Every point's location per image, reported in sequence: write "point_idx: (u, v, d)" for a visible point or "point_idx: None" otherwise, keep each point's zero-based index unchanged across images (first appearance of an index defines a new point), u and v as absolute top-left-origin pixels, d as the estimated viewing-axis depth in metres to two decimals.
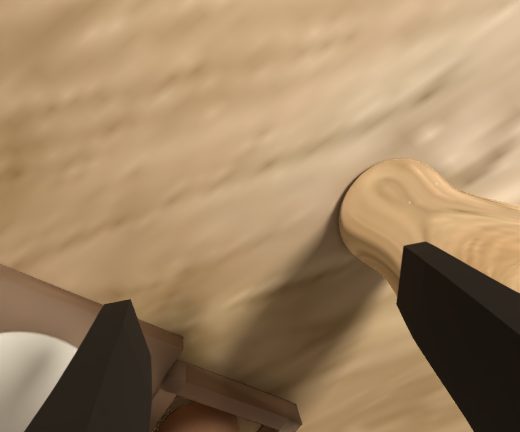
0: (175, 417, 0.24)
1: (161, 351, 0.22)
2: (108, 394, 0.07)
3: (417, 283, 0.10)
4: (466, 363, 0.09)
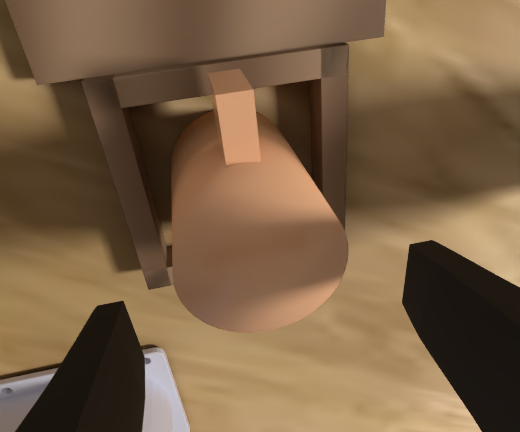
0: None
1: (368, 10, 0.14)
2: (99, 396, 0.07)
3: (423, 282, 0.10)
4: (473, 361, 0.09)
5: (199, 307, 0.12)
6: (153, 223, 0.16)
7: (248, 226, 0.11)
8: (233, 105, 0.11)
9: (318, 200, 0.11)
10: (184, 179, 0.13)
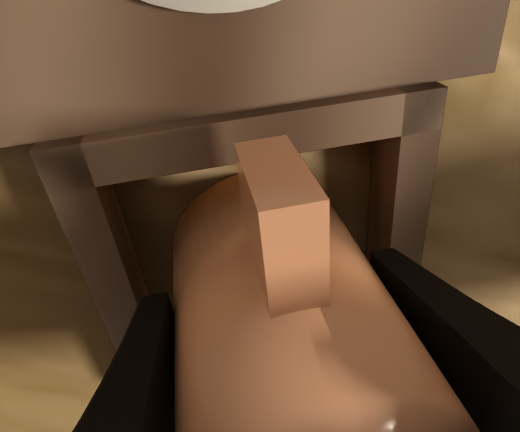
0: None
1: (477, 33, 0.09)
2: (157, 383, 0.07)
3: None
4: None
5: None
6: None
7: None
8: (290, 227, 0.06)
9: (447, 402, 0.06)
10: (195, 314, 0.08)
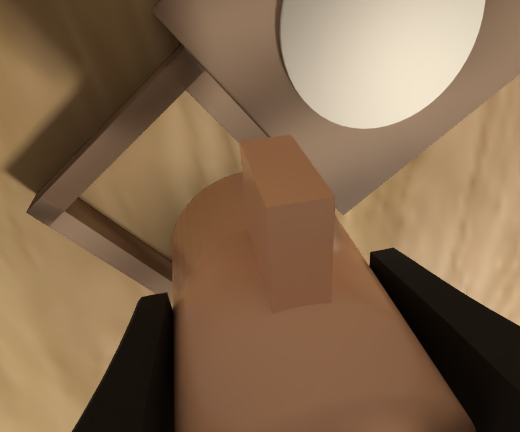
0: None
1: (351, 195, 0.19)
2: (156, 384, 0.07)
3: None
4: None
5: None
6: (100, 173, 0.16)
7: None
8: (296, 222, 0.06)
9: (444, 397, 0.06)
10: (196, 309, 0.08)
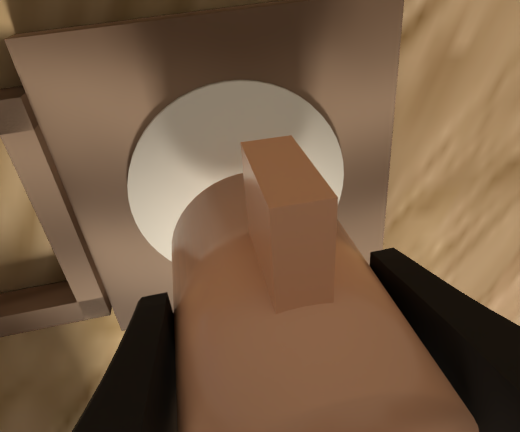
0: None
1: None
2: (156, 384, 0.07)
3: None
4: None
5: None
6: None
7: None
8: (299, 224, 0.06)
9: (447, 395, 0.06)
10: (198, 311, 0.08)
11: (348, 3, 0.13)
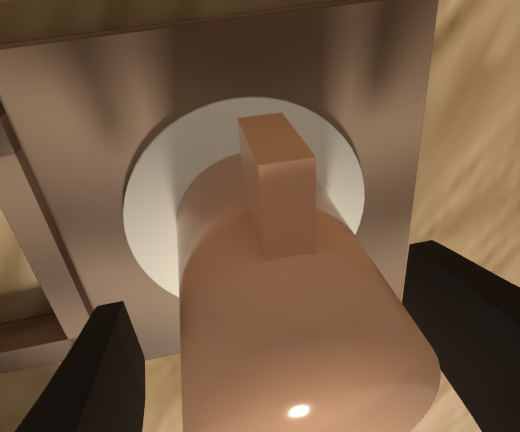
0: None
1: None
2: (98, 396, 0.07)
3: (423, 282, 0.10)
4: (473, 361, 0.09)
5: None
6: None
7: (302, 366, 0.07)
8: (283, 180, 0.07)
9: (409, 326, 0.07)
10: (199, 265, 0.09)
11: (375, 10, 0.11)
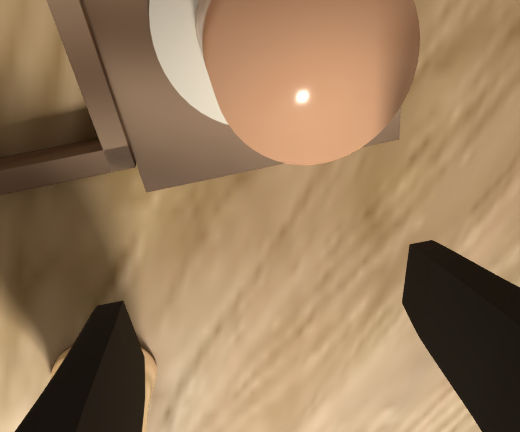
0: None
1: (163, 175, 0.18)
2: (99, 396, 0.07)
3: (423, 282, 0.10)
4: (473, 361, 0.09)
5: (240, 119, 0.10)
6: None
7: None
8: None
9: None
10: None
11: None
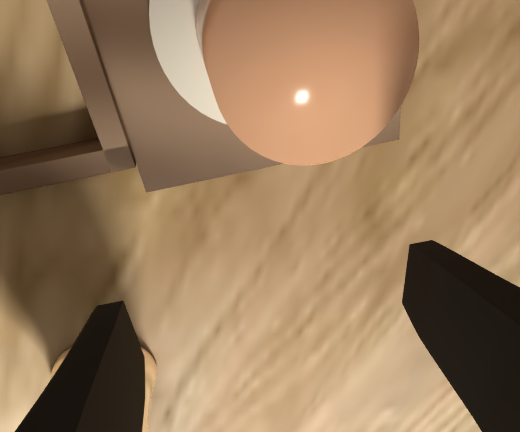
0: None
1: (163, 175, 0.18)
2: (99, 396, 0.07)
3: (423, 282, 0.10)
4: (473, 361, 0.09)
5: (239, 119, 0.10)
6: None
7: None
8: None
9: None
10: None
11: None
